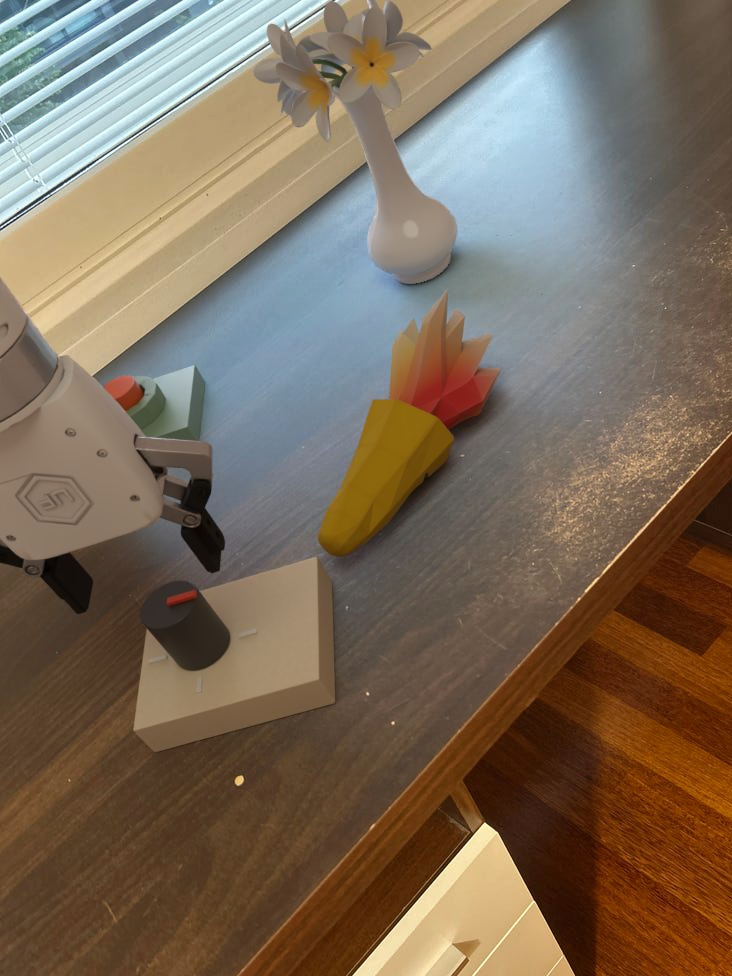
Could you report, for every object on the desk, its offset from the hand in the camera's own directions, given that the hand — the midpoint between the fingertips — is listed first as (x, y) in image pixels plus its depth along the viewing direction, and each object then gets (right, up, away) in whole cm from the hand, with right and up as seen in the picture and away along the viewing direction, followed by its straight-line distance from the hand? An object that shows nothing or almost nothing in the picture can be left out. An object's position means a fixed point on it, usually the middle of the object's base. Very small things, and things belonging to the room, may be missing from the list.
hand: (150, 578), depth 69 cm
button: (-12, +19, +29) cm, 36 cm away
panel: (+5, -6, +8) cm, 11 cm away
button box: (-11, +16, +32) cm, 37 cm away
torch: (+17, +10, +17) cm, 26 cm away
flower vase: (+16, +34, +36) cm, 52 cm away
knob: (+2, -5, +6) cm, 8 cm away
